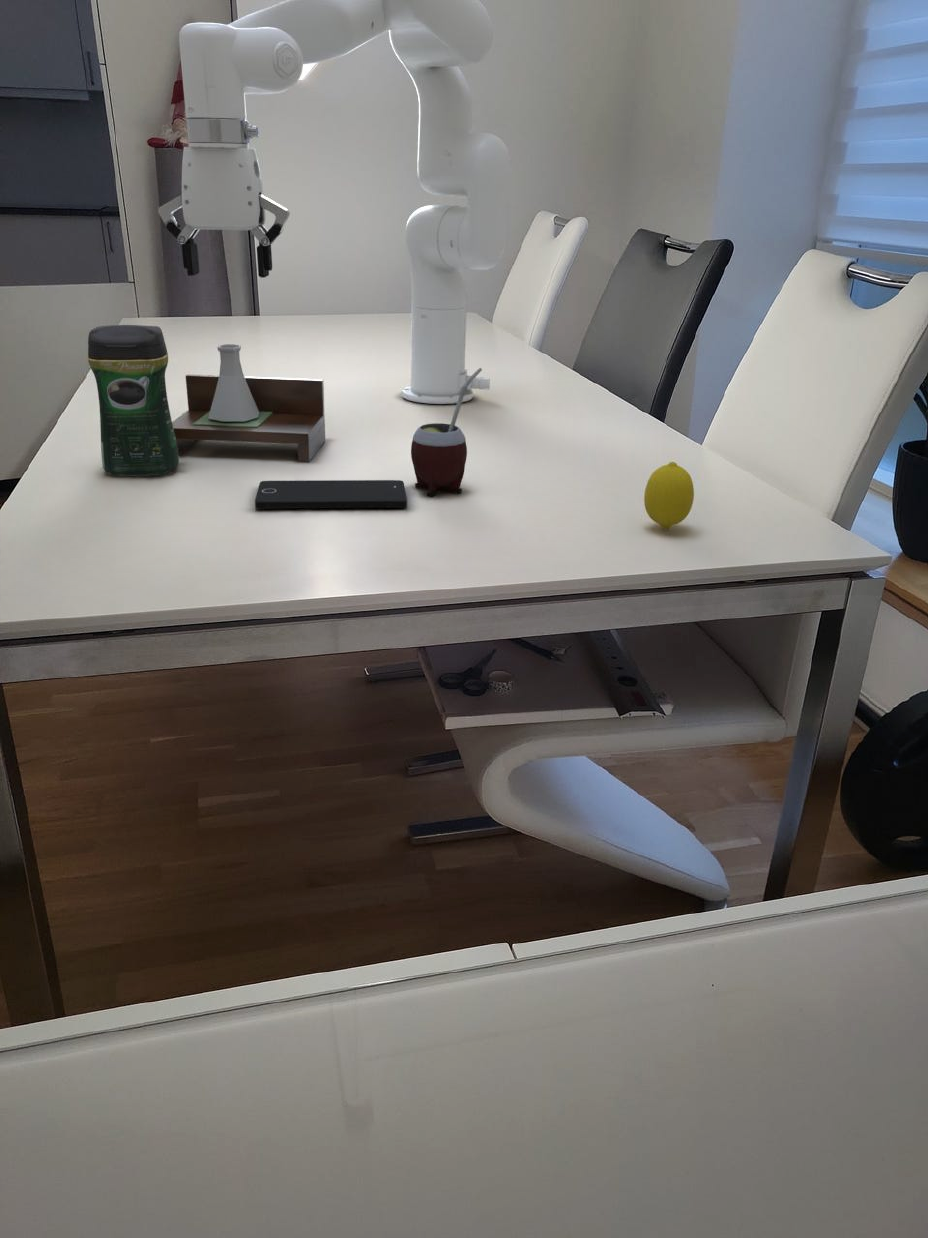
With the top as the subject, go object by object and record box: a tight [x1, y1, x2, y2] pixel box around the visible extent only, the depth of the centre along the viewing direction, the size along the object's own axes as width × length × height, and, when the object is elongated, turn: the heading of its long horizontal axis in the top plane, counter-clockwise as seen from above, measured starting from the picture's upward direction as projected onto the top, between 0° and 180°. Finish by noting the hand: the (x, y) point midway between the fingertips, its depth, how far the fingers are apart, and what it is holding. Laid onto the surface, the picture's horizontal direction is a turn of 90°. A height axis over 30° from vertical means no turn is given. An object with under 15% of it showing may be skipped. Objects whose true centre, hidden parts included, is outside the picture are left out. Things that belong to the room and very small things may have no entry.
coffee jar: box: [87, 324, 180, 477], centre depth 129 cm, size 10×8×19 cm
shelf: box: [172, 374, 326, 463], centre depth 143 cm, size 20×12×9 cm, turn 87°
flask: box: [208, 343, 259, 422], centre depth 141 cm, size 7×7×10 cm
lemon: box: [643, 461, 695, 530], centre depth 115 cm, size 6×6×8 cm
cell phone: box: [254, 479, 408, 510], centre depth 123 cm, size 9×18×1 cm, turn 96°
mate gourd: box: [410, 367, 483, 498], centre depth 126 cm, size 8×8×15 cm
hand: (228, 275), depth 136 cm, fingers open, 9 cm apart
